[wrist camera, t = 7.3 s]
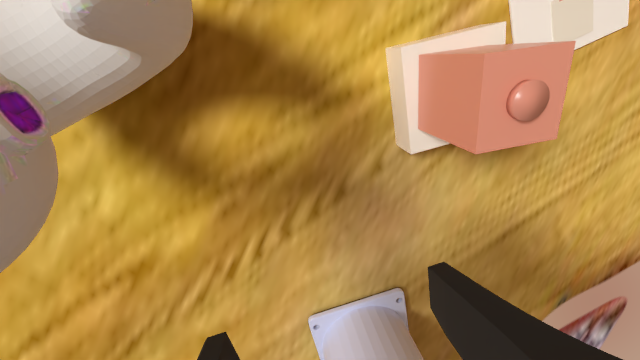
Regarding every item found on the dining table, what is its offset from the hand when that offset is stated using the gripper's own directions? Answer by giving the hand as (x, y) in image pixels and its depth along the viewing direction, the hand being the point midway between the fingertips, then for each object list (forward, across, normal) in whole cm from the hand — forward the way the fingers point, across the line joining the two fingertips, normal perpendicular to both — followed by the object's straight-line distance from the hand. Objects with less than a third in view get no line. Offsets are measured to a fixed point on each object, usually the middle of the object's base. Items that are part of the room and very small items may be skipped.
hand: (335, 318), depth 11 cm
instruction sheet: (+10, -19, -7) cm, 23 cm away
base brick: (+11, -10, -4) cm, 15 cm away
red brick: (+8, -10, -4) cm, 14 cm away
